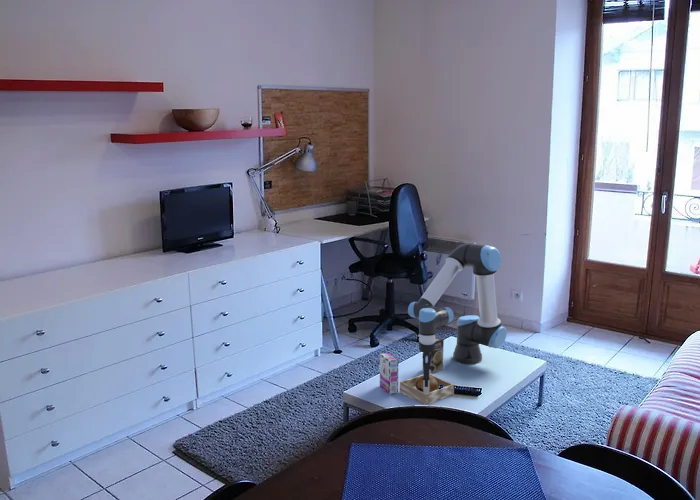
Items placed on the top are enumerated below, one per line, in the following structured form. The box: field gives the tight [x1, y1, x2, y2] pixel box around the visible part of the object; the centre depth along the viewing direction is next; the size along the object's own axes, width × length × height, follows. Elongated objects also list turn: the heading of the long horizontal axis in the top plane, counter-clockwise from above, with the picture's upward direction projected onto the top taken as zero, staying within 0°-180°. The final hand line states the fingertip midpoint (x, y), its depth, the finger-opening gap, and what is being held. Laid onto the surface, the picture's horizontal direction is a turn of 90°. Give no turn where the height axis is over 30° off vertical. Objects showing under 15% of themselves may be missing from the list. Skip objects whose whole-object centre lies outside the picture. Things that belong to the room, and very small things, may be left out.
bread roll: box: [416, 375, 438, 392], centre depth 285 cm, size 10×10×8 cm
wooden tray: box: [399, 373, 455, 406], centre depth 285 cm, size 18×18×5 cm
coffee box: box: [422, 336, 445, 375], centre depth 312 cm, size 9×6×16 cm
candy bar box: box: [379, 352, 399, 396], centre depth 289 cm, size 11×5×16 cm, turn 21°
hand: (426, 387), depth 285 cm, fingers closed on bread roll, 10 cm apart
